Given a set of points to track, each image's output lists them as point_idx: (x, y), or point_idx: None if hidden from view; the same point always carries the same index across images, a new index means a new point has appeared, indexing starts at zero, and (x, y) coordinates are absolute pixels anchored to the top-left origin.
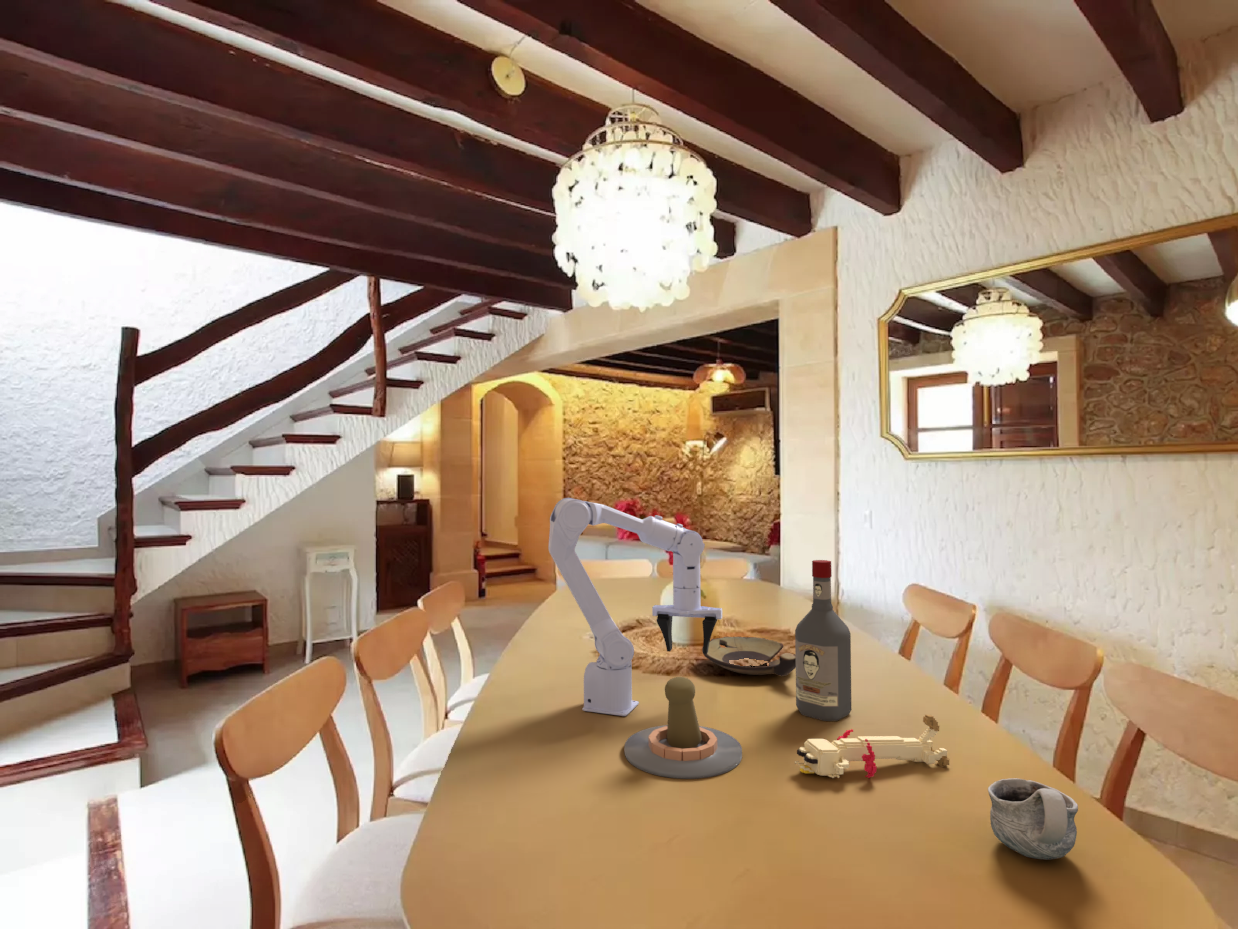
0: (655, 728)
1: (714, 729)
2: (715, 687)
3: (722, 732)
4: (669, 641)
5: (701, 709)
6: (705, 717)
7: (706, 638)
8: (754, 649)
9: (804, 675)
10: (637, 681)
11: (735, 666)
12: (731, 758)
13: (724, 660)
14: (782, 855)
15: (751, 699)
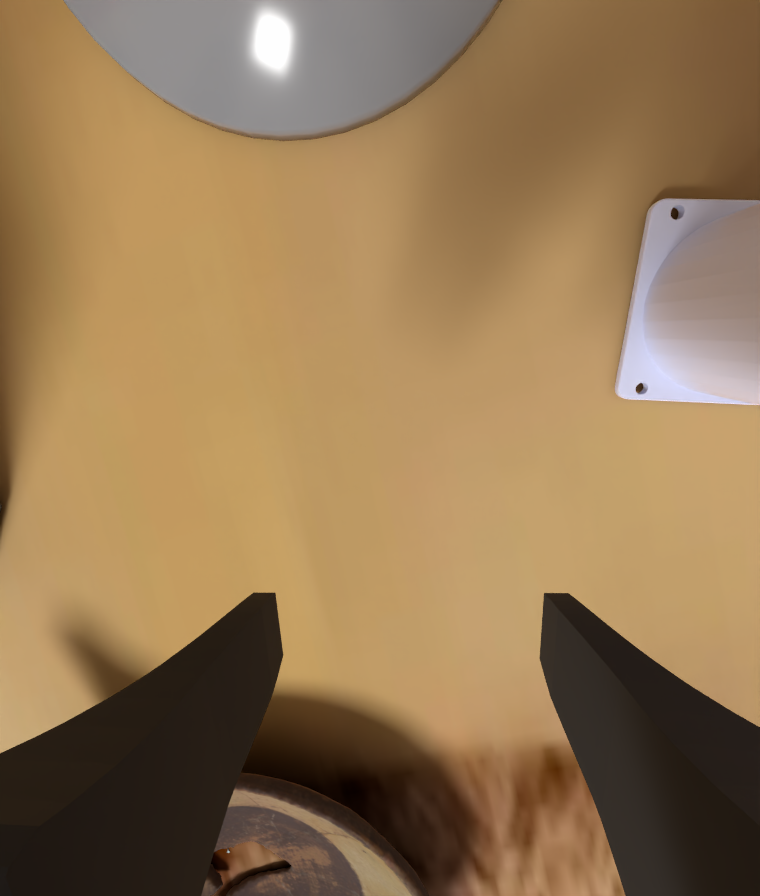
0: (463, 5)
1: (192, 105)
2: (341, 661)
3: (149, 79)
4: (580, 654)
5: (334, 413)
6: (296, 325)
7: (173, 668)
8: None
9: None
10: (666, 661)
11: (265, 785)
12: None
13: (354, 883)
14: None
15: (184, 571)
